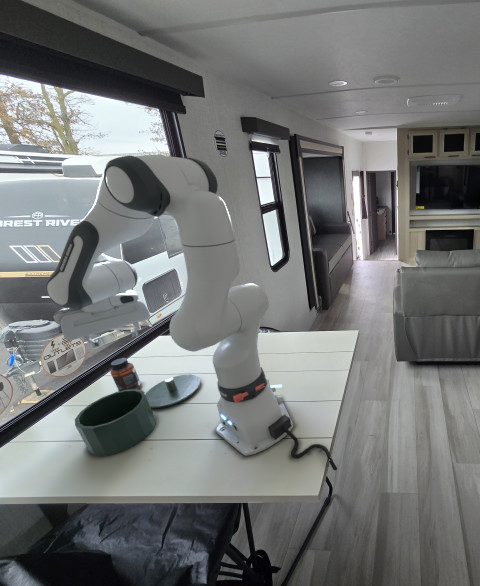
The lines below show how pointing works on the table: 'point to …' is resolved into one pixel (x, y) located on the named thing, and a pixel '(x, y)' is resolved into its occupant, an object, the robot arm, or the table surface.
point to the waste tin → (115, 422)
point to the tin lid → (172, 390)
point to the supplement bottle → (124, 375)
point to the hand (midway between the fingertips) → (116, 340)
